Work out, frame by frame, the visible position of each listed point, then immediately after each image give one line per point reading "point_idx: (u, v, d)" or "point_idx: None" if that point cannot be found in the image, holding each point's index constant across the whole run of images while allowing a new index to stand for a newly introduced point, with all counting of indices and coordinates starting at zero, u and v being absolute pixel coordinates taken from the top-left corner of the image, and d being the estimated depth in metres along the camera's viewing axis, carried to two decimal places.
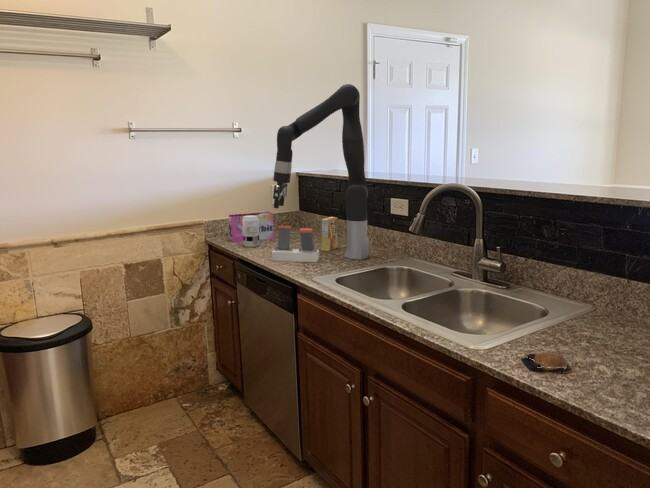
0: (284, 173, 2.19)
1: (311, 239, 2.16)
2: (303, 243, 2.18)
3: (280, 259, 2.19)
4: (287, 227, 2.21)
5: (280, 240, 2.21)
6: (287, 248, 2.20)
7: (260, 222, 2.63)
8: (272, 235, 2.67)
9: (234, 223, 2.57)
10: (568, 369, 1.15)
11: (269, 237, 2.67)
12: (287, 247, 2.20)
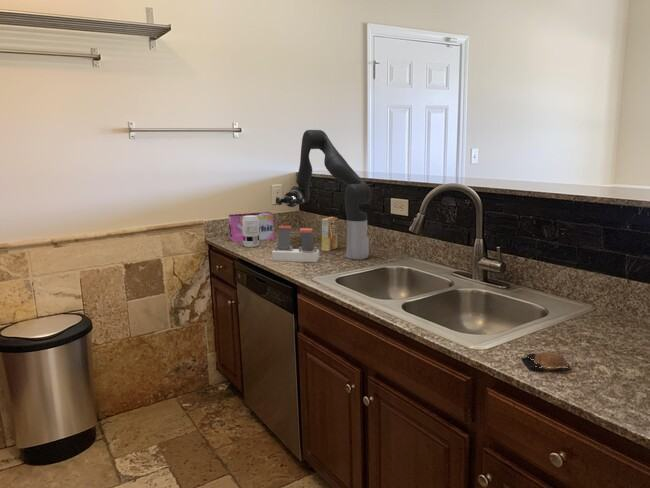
0: None
1: (311, 239, 2.16)
2: (303, 243, 2.18)
3: (280, 259, 2.19)
4: (287, 227, 2.21)
5: (280, 240, 2.21)
6: (287, 248, 2.20)
7: (260, 222, 2.63)
8: (272, 235, 2.67)
9: (234, 223, 2.57)
10: (568, 369, 1.15)
11: (269, 237, 2.67)
12: (287, 247, 2.20)
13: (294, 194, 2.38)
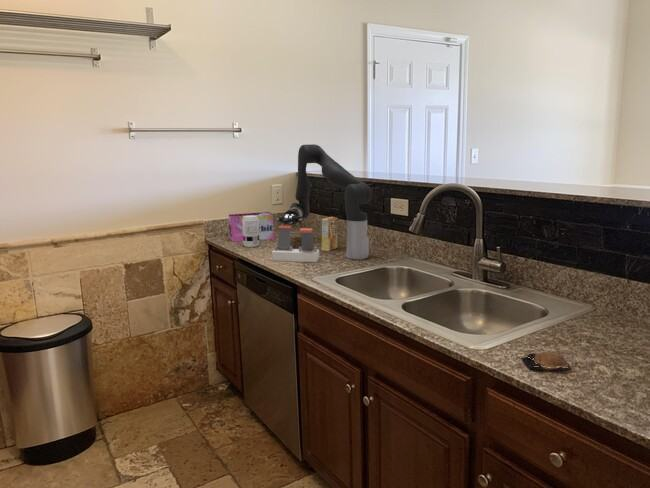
0: None
1: (311, 239, 2.16)
2: (303, 243, 2.18)
3: (280, 259, 2.19)
4: (287, 227, 2.21)
5: (280, 240, 2.21)
6: (287, 248, 2.20)
7: (260, 222, 2.63)
8: (272, 235, 2.67)
9: (234, 223, 2.58)
10: (568, 369, 1.15)
11: (269, 237, 2.67)
12: (287, 247, 2.20)
13: (294, 212, 2.41)
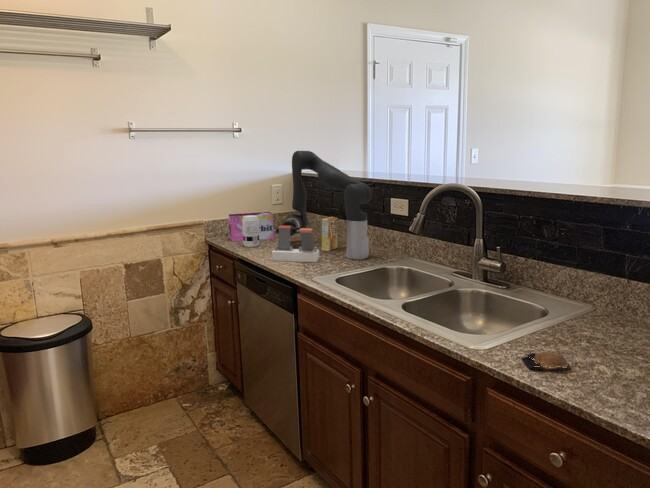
0: None
1: (311, 239, 2.16)
2: (303, 243, 2.18)
3: (280, 259, 2.19)
4: (287, 227, 2.21)
5: (280, 240, 2.21)
6: (287, 248, 2.20)
7: (259, 222, 2.63)
8: (272, 235, 2.67)
9: (233, 223, 2.58)
10: (568, 369, 1.15)
11: (269, 237, 2.67)
12: (287, 247, 2.20)
13: (292, 223, 2.34)
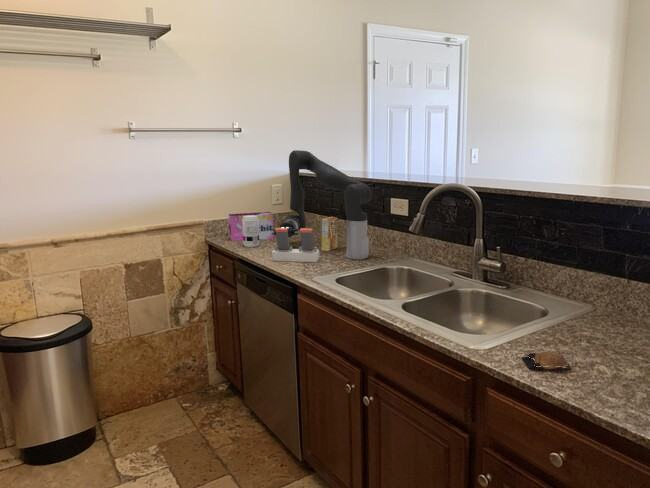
0: None
1: (311, 239, 2.16)
2: (303, 243, 2.18)
3: (280, 259, 2.19)
4: (284, 231, 2.15)
5: (279, 242, 2.19)
6: (287, 249, 2.20)
7: (259, 222, 2.64)
8: (272, 235, 2.67)
9: (233, 222, 2.59)
10: (568, 369, 1.15)
11: (269, 237, 2.67)
12: (287, 248, 2.20)
13: (290, 224, 2.31)
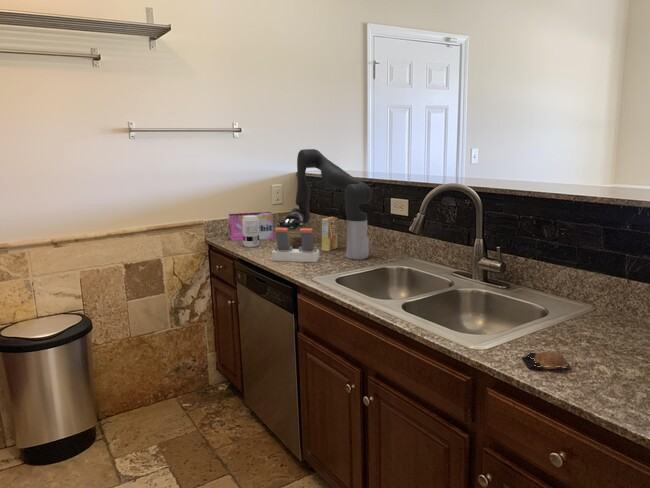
0: None
1: (311, 239, 2.16)
2: (303, 243, 2.18)
3: (280, 259, 2.19)
4: (284, 231, 2.15)
5: (279, 242, 2.19)
6: (287, 249, 2.20)
7: (259, 222, 2.64)
8: (272, 235, 2.67)
9: (233, 222, 2.59)
10: (568, 369, 1.15)
11: (268, 237, 2.67)
12: (287, 248, 2.20)
13: (295, 217, 2.41)
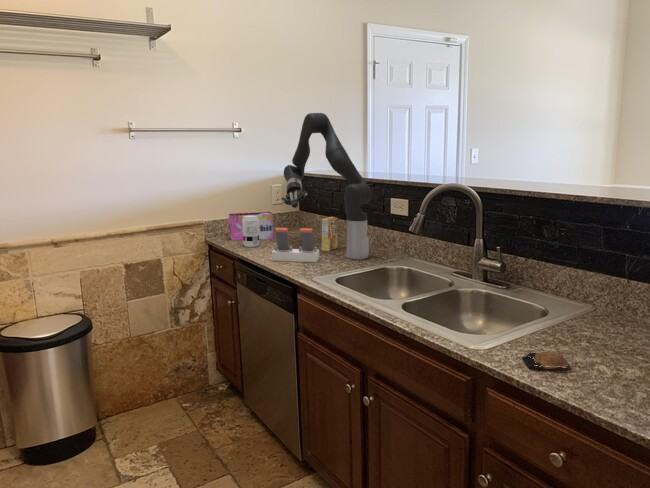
0: None
1: (311, 239, 2.16)
2: (303, 243, 2.18)
3: (280, 259, 2.19)
4: (284, 231, 2.15)
5: (279, 242, 2.19)
6: (287, 249, 2.20)
7: (259, 222, 2.64)
8: (271, 235, 2.67)
9: (232, 222, 2.60)
10: (568, 368, 1.15)
11: (268, 237, 2.67)
12: (287, 248, 2.20)
13: (296, 187, 2.35)
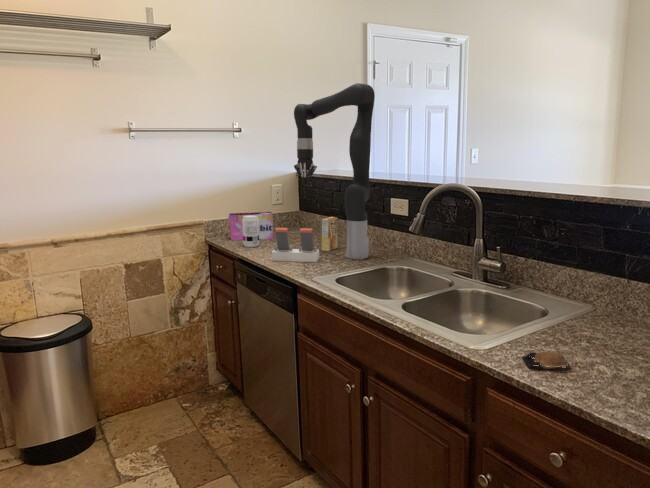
0: None
1: (311, 239, 2.16)
2: (303, 243, 2.18)
3: (280, 259, 2.19)
4: (284, 231, 2.15)
5: (279, 242, 2.19)
6: (287, 249, 2.20)
7: (259, 222, 2.64)
8: (271, 235, 2.67)
9: (232, 222, 2.61)
10: (568, 368, 1.15)
11: (268, 237, 2.67)
12: (287, 248, 2.20)
13: (304, 158, 2.31)
